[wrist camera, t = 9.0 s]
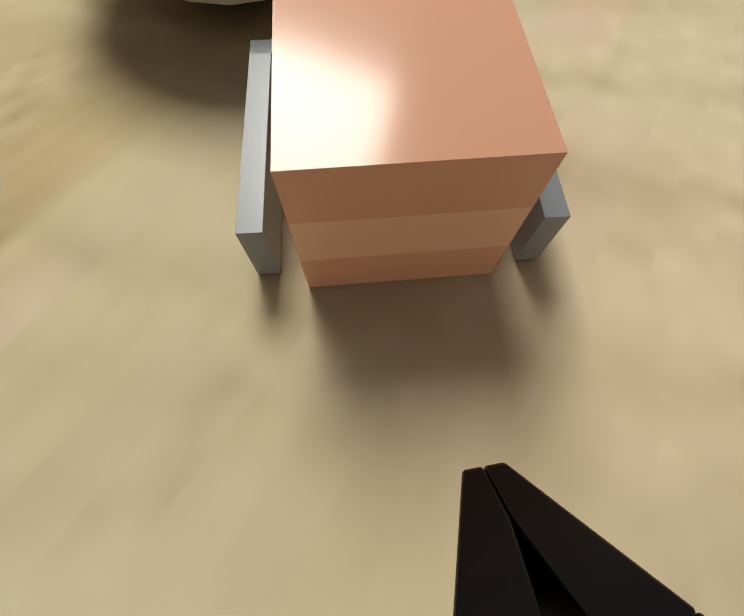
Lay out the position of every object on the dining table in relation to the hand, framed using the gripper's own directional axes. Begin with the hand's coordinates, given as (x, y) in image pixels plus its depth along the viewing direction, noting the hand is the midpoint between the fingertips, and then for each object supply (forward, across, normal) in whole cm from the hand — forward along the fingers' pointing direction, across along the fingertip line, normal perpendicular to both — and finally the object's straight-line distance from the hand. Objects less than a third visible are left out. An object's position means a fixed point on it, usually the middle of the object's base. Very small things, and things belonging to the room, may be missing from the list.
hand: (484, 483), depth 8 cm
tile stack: (+18, -1, -5) cm, 19 cm away
